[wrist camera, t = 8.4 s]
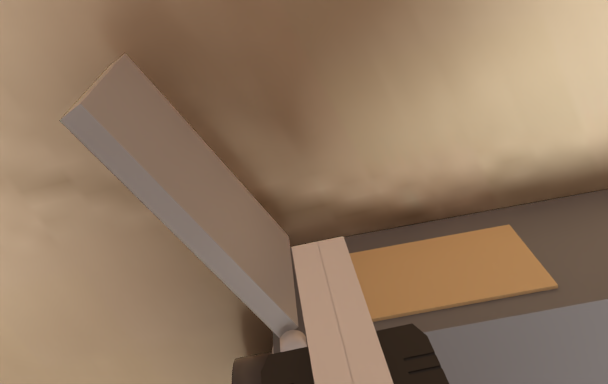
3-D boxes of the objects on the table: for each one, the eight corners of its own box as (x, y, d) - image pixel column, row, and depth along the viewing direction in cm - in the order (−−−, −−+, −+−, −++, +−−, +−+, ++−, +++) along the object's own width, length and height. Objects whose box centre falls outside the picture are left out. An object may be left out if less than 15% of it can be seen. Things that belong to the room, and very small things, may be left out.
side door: (289, 236, 25) (298, 326, 19) (263, 253, 25) (265, 347, 20) (125, 52, 21) (80, 103, 15) (97, 75, 21) (43, 132, 16)
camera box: (260, 413, 30) (262, 562, 24) (211, 239, 25) (195, 363, 18) (671, 338, 30) (795, 466, 23) (704, 149, 25) (874, 240, 18)
